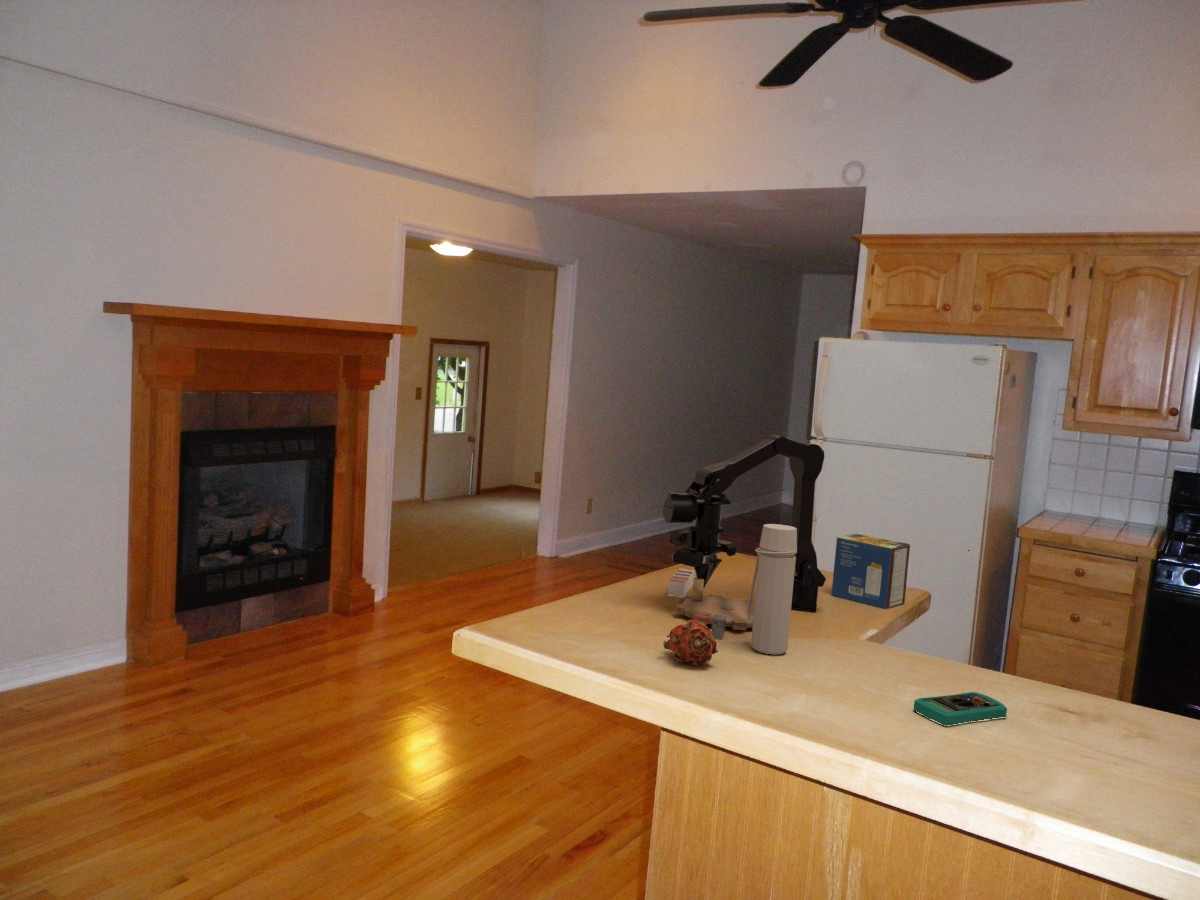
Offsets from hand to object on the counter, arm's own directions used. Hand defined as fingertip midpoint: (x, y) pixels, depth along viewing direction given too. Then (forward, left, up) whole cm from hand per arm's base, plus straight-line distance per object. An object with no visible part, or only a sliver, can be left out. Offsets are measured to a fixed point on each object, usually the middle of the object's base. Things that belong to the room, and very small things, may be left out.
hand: (701, 588), depth 208 cm
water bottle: (-17, +25, -5) cm, 31 cm away
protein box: (-38, -32, -5) cm, 50 cm away
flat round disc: (-7, +6, -5) cm, 10 cm away
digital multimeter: (-51, +47, -5) cm, 69 cm away
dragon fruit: (-4, +40, -5) cm, 41 cm away
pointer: (-7, +21, -5) cm, 22 cm away
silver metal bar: (+7, -16, -5) cm, 18 cm away
